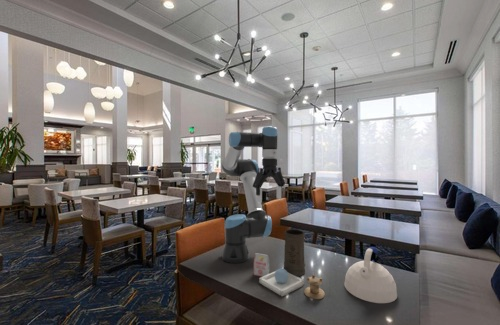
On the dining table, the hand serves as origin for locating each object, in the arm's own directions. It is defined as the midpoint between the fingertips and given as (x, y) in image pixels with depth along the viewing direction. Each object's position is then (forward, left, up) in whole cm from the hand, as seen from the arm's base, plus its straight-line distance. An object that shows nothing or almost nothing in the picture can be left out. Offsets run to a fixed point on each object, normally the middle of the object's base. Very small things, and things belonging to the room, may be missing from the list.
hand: (269, 200), depth 122 cm
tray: (+14, -6, -35) cm, 38 cm away
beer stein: (+8, +10, -35) cm, 37 cm away
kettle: (+41, +20, -35) cm, 58 cm away
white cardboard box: (+2, -7, -35) cm, 36 cm away
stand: (+28, -1, -35) cm, 45 cm away
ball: (+14, -6, -34) cm, 37 cm away
